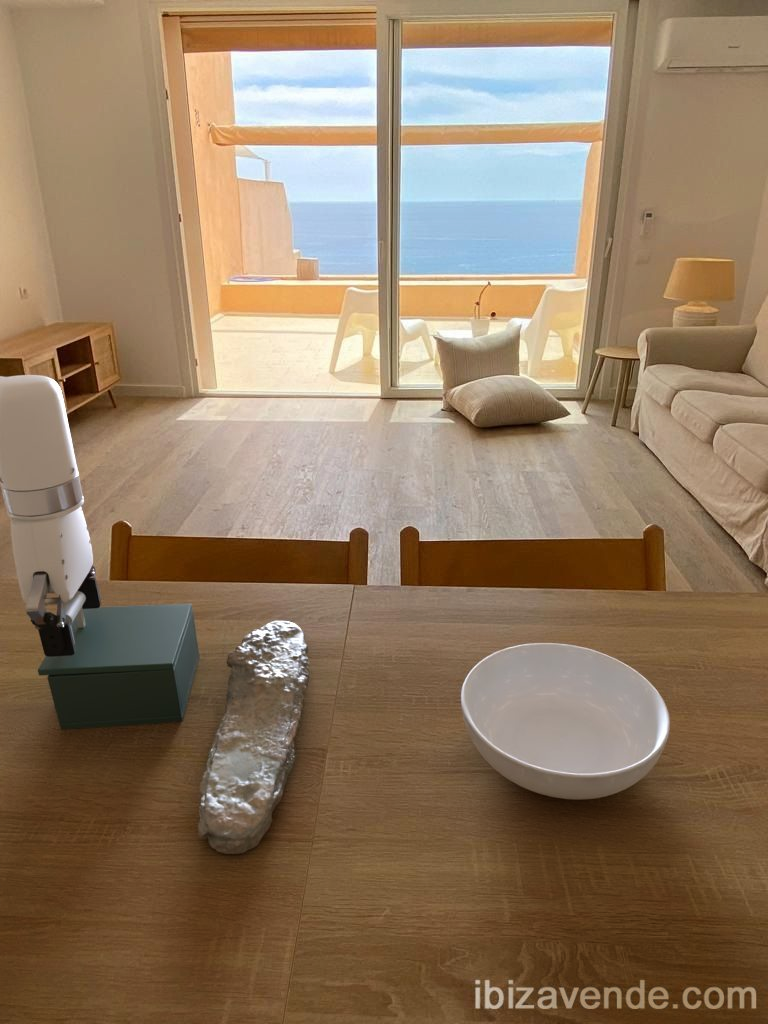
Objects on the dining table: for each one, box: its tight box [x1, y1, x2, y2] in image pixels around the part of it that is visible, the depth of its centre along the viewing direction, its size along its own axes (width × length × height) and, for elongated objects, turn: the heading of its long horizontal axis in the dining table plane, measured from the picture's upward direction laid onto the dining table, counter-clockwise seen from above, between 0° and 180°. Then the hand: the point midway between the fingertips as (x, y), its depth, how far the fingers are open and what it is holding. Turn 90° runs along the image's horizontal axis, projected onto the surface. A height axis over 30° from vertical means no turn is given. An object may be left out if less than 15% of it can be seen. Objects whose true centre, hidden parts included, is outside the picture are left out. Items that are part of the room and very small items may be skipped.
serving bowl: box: [460, 642, 671, 800], centre depth 73 cm, size 21×21×7 cm
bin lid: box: [37, 591, 193, 676], centre depth 81 cm, size 14×13×5 cm
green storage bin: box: [47, 609, 200, 730], centre depth 83 cm, size 14×13×7 cm
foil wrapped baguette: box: [197, 620, 310, 855], centre depth 78 cm, size 35×5×10 cm
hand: (75, 629), depth 81 cm, fingers open, 9 cm apart
